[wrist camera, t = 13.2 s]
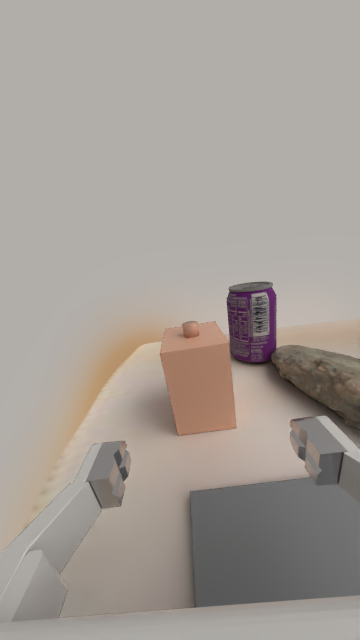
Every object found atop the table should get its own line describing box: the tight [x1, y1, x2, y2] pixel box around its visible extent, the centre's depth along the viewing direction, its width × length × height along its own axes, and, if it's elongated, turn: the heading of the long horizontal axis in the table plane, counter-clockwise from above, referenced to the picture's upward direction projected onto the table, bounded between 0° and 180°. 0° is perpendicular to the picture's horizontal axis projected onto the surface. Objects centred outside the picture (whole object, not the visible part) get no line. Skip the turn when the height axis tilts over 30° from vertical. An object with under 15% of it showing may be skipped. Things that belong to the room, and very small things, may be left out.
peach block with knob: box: [160, 321, 236, 435], centre depth 19 cm, size 6×6×11 cm
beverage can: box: [227, 282, 276, 363], centre depth 28 cm, size 7×7×12 cm
